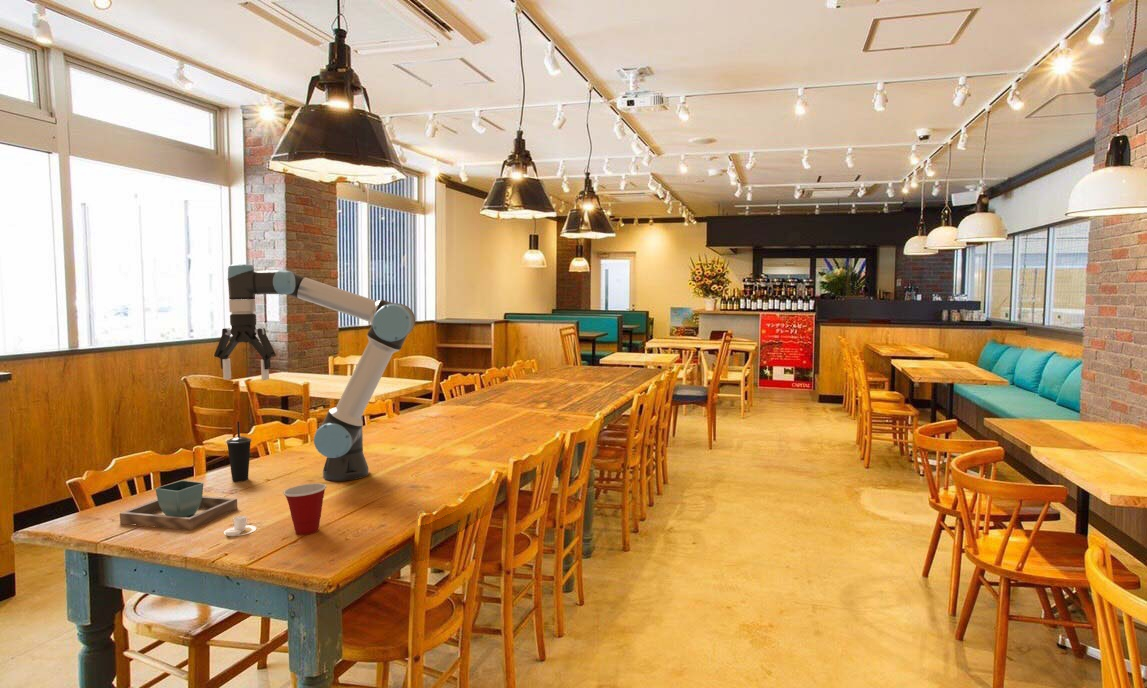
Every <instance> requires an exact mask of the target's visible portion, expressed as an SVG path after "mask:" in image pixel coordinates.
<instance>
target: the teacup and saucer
mask: <svg viewBox="0 0 1147 688" xmlns="http://www.w3.org/2000/svg"><path fill="white" fill-rule="evenodd" d="M232 521H233V522H232V523H233V527H229V528H227V529H225V530H224V531H223V534H224V535H225V536H228V537H240V536H246V535H249V534H251V533H255V531H256V530H257V526H255V525H251V524H250V525H249V524H247V522H248V516H246V515H237V516H234V517H233V518H232ZM246 528H250V529H251V530H250V531H248V532H246V533H245V530H246ZM242 532H244V533H242Z"/></svg>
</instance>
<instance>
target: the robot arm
mask: <svg viewBox="0 0 1147 688" xmlns="http://www.w3.org/2000/svg"><path fill="white" fill-rule="evenodd" d="M227 284H228V305H229V306H228V307H229V313H230V315H229V320H230V321H229V324H230V326H231V328H230V327H228V328H227V327H226V328H222V330H221V337H220V339H219V342H218V345H217V347H216V350H215V352H214V355H213V356H214V358H219V360H220V368H221V369H222V377H223V380H224V381H225V380H230V379H232V369H231V368H232V367H231V358H230V357H229V356H230V355H231V354H232V352H233V351H234V349H235V348H236V347H237V345H238V344H239V343H246V344H247V343H249V344H251V346H252V347H253V348H254V350H256V352H257V353H258V354H259V356H260V357H261V359H260V373H261V375H260V377H261V381H267V380H270V369H271V368H272V367H271V359H272V358H276V355H277V354H276V351H275V350H274V347H273V346H272V343H271V342H270V339H269V337H268V335H267V332H266V331H267V330H266V328H265V327H261V328H256V327H257V314H256V308H257V307H256V295H287V296H289V297H293V298H294V299H295V298H296V299H299V300H302V301H305V302H309V303H310V304H311V303H312V304H315V305H318V306H321V307H323V308H327V309H330V310H333V311H335V312H338V313H342V314H344V315H345V314H346V315H348V316H350V317H351V316H352V317H354V318H357V319H361V320H363V321H366V322H369V323H370V324H371V325H370V328H369V330H368V331H367V334H366V338H367V340H368V343H367V345H366V346H365V349H364V350H363V352H362V354H361V357H360V359H359V361H358V363H357V364H356V367H355V368H354V371H353V372H352V375H351V377H350V379H349V381H348V383H347V384H346V386H345V388H344V391H343V392H342V394H341V397H339V401H338V402H337V405H336V406H335V407H332V408H329V410H328V412H326V413H327V414H326V415H325V418H324V420H323V421H322V423H321V425H320V426H319V427H318V428H317V429H316V431H315V432H314V436H313V443H314V446H315V449H316V450H317V452H318V453H319V454H321V456H324V457H326V460H325V463H324V466H323V470H322V477H323V479H324V480H327V481H332V482H334V481H335V482H342V481H343V482H346V481H353V480H358V479H361V478H365V477H367V476H368V475H369V472H370V471H369V465H368V462H367V459H366V457H365V454H364V443H363V440H364V437H363V434H364V433H363V430H364V429H363V424H364V421H363V420H364V418H363V415H364V412H365V411H366V408H367V407H368V404H369V402H370V400H371V398H372V396H373V394H374V393H375V391H376V388H377V386H378V384H379V382H380V381H381V378H382V377H383V374H384V372H385V371H386V368H387V366H388V364H389V362H390V361H391V358H392V356H393V354H394V353H397V352H399V351H401V349H402V348H403V345H404V343H405V341H406V339H407V337H408V336H409V334H411V332H412V331H413V330H414V328H415V326H416V325H415V324H416V317H415V314H414V312H413V310H412V309H411V308H410V307H409V306H408V305H405V304H403V303H398V302H397V303H396V302H392V301H387V300H384V299H379V300H374V299H372V298H368V297H365V296H363V295H360V294H356V293H353V292H351V291H348V290H344V289H341V288H339V287H335V286H333V285H329V284H327V283H323V282H320V281H319V280H318V281H317V280H315V279H312V278H309V277H305V276H302V275H299V274H297V273H295V272H294V271H293V272H292V271H291V270H285V269H284V270H282V269H279V270H255V268H254V265H253V264H230V265H228V268H227ZM231 335H232V337H231ZM230 337H231V338H230Z"/></svg>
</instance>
